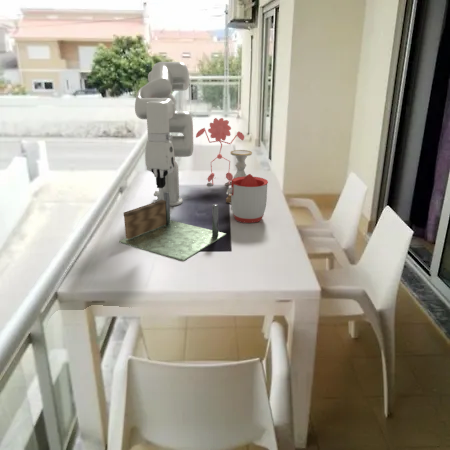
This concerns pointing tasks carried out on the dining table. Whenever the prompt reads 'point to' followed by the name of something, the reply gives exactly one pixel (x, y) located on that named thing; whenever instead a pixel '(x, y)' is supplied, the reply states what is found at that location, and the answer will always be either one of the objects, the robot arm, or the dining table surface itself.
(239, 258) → the dining table surface
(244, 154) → the candle holder
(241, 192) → the citrus juicer
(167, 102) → the robot arm
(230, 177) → the figurine
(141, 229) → the gate
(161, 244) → the gate frame
